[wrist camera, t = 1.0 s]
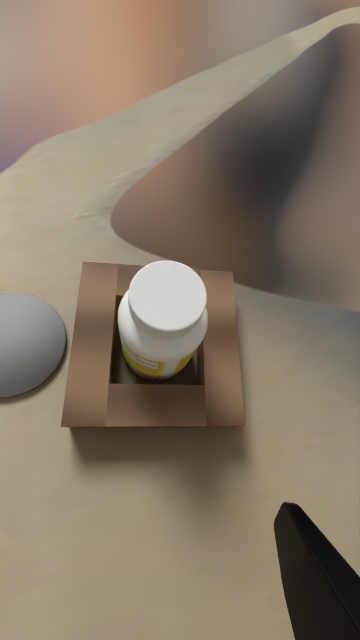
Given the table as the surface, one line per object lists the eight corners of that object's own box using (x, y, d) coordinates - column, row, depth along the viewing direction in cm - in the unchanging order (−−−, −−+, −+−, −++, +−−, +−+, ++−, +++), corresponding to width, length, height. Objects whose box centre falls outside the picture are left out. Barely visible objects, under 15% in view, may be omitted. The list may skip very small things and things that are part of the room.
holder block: (233, 426, 22) (245, 426, 20) (69, 427, 21) (61, 426, 18) (224, 286, 27) (232, 272, 24) (87, 277, 25) (83, 261, 23)
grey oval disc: (58, 397, 21) (57, 397, 21) (-64, 396, 20) (-67, 395, 20) (72, 298, 24) (71, 295, 24) (-33, 292, 23) (-36, 290, 23)
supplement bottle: (182, 312, 25) (209, 244, 16) (195, 375, 23) (234, 338, 14) (118, 321, 24) (108, 252, 15) (126, 387, 22) (121, 355, 13)
